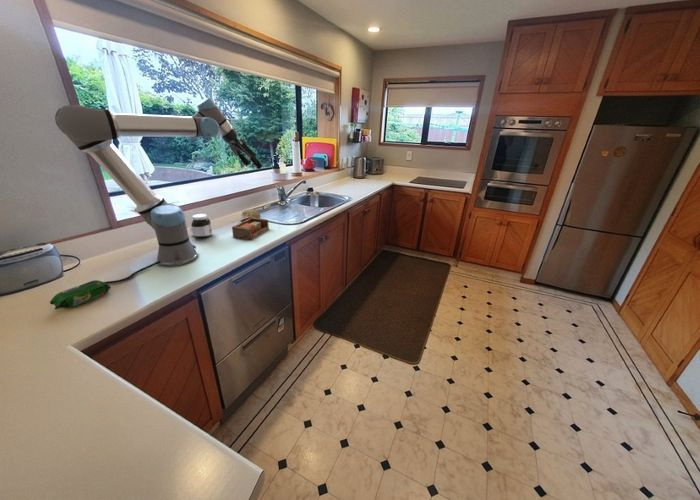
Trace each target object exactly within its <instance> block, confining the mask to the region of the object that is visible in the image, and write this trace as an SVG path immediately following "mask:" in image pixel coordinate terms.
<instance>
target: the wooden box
mask: <svg viewBox="0 0 700 500" xmlns="http://www.w3.org/2000/svg"><path fill="white" fill-rule="evenodd" d="M269 229H270V227H269V219H265V218H260V219H258V218H250V219H248V220H245V221H243V222H241V221H240V222H239V223H237V224H235V225H233V226H231V231H232V237H233V238H236V239H243V240H248V241H252V240H254V239H255V238H258V237H259V236H260V235H263V234H264V233H265V232H267V231H269Z"/></svg>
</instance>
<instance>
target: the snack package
mask: <svg viewBox="0 0 700 500" xmlns="http://www.w3.org/2000/svg"><path fill="white" fill-rule="evenodd" d="M105 282H106V281H102V280H99V279H95V280H89V281H87V282H86V283H83V284H80V285H76V286H74V287H71V288H68V289H65V290H62V291H60V292H58V293H56V294H55V295H54V296H53V297H52V298H51V299H50V301H49V304H50V305H52V306H53V305H54V310H58V309H61V308H64V309H72V308H77V307H79V306H82V305H85V304H87V303H90V302H92V301H95V300H97V299H99V298H102V297H104V296H106V295H107V294H108V292H109V291H110V290H111V288H112V287H111V285H110V284H107V283H105Z"/></svg>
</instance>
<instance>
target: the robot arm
mask: <svg viewBox="0 0 700 500" xmlns="http://www.w3.org/2000/svg"><path fill="white" fill-rule="evenodd" d="M196 108H197V112H196V113H194V114H193V115H191V116H186V115H185V116H184V115H165V114H164V115H162V114H143V113H141V114H140V113H122V112H121V113H119V112H113V111H112V110H110V109H103V108H96V107H95V108H94V107H89V106H84V105H81V104H80V105H79V104H68V105H64V106H62V107H59V108H58V110H57V111H56V113H55V115H54V121H55V123H56V126H57V128H58V130H60V131H61V133H63V134H64V135H65V136H66V137H67V138H68V139H69V140H70V141H71V142H72V143H73V145H75V147H77V149H78V150H79V151H80V152H83V153H87V154H89V155H90V156H91V157H92V158H93V159H94V160H95V162H96V163H97V164H98V165H99V166H100V167H101V168H102V169H103V170H104V171H105V173H107V175H108V176H109V177H110V178H111V180H113V181H114V183H116V185H117V186H118V187H119V188H120V189H121V190H122V191H123V192H124V193H125V195H127V197H128V198H129V199H130V200H131V201H132V202H133V203H134V205H136V206H135V207H136V208H135V210H136V211H135V212H137V213H138V215H140V217H141V218H142V219H143V220H144V222H145V223H146V224H148V226H150V227H151V228H152V229H153V230H154V233H155V236H156V240H157V244H158V252H157V256H156V257H157V258H156V259H157V261H156V262H153V263H152V264H149V265H147V266H144V267H142V268H140V269H138V270H135V271H134V272H132V273H131V274H130V275H128V276H126V277H124V278H121V279H116V280H108V281H104V282H105V283H107V284H108V285H111V284H118V283H121V282H125V281H128V280H130V279H132V278H133V277H134V276H135V275H138V274H139V273H141V272H142V271H145V270H148V269H150V268H152V267H154V266H157V265H160V266H162V267H178V266H184V265H187V264H189V263H191V262H194V261H195V260H196V259H197V258H198V252H197V250H196V249H197V247H196V245H194V244H192V242H191V241H190V237H189V232H188V226H187V222H186V215H185V213H184V210H183V209H182V207H180V206H177V205H172V204H169V203H168V201H166V199H165V198H164V197H163V195H159V194H156V193H155V192H154V191H153V190H152V189H151V187H150V186H149V185H148V184H147V182H146V181H145V180H144V179H143V177H141V175H140V174H139V172H138V171H136V169H135V168H134V167H133V166H132V165H131V163H130V162H129V161H128V160H127V159H126V157H125V156H124V154H122V152H121V151H120V150H119V149H118V148H117V147H116V145H115V144H114V143H113V141H115V140H116V141H117V140H119V139H120V138H122V137H186V138H188V139H189V140H191V141H195V140H197V139H198V138H202V137H203V138H204V137H205V138H214V137H216V136H217V135H218V136H220V137H221V139H222V140H223V141H224V143H226V144H228V146H229V147H230V149H231V151H232V153H233V154H234V155H235V156H236V157H238V158H239V159H240V161H241V162H242V164H244V165H245V167H248V166H249V165H250V164H251V162H252V163H253V165H254V166H255V167H256V168H257V170H260V169H261V168H262V167H263V165H262V163H261V162H260V161H259V159H258V158H257V157H256V156H257V154H256V152H254V151H253V150H252V149H251V148H250V147H249V146H248V145H247V144H246V143H245V142H244V140H243V139H242V138H240V139H239V138H238V135H239V134H238V131H237V130H236V129H235V128H234V127H233V125H232V123H231V122H230V119H227V117H226V116H225V115H224V113H223V112H222V111H221V109H220V108H219V107H218V105H217V104H216V102H214V101H213V100H212V98H211V97H205V98H203V99H201V100H200V101H199V102H198V103H197V104H196ZM244 154H245V155H246V156H247V157H248V158H249V160H250V161H251V162H250V161H249V160H248V158H247V157H246V156H245V155H244Z"/></svg>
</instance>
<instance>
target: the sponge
mask: <svg viewBox="0 0 700 500" xmlns="http://www.w3.org/2000/svg"><path fill="white" fill-rule="evenodd" d="M250 218H258V219H261V213H260V212H259V210H256V209H255V208H254V209H253V208H250V209H244V210H242V211H241V219H240V223H241V222H243V221H245V220H248V219H250Z"/></svg>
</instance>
